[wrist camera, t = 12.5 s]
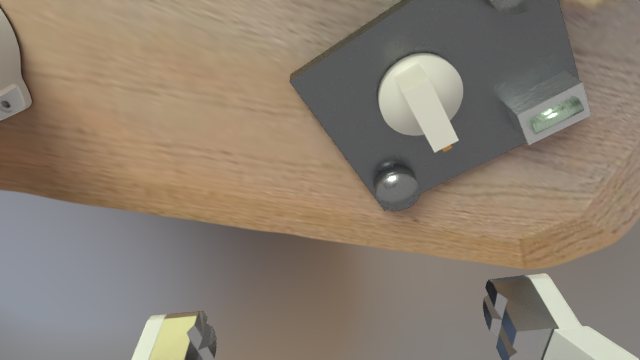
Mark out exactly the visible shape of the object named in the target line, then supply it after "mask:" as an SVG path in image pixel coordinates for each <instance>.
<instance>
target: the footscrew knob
mask: <svg viewBox="0 0 640 360" xmlns="http://www.w3.org/2000/svg"><path fill="white" fill-rule="evenodd" d="M462 98H463V84H462V80H461V77H460V75H459V73H458V72H457V71H456V69H455V68H454V67H453V66H452V65H451V64H450V63H449V62H448V61H447V60H446V59H444V58H443V57H441V56H438V55H435V54H431V53H417V54H413V55H410V56H407V57H405V58H403V59H401V60H399V61H398V62H396V63H395V64H394V65H393V66H392V67H391V68H390V69H389V70H388V71H387V72H386V74H385V75H384V77H383V78H382V80H381V83H380V86H379V89H378V104H379V107H380V110H381V113H382V116H383V118H384V120H385V121H386V123H387V124H388V125H389V126H390V127H391V128H392V129H394V130H395V131H397V132H399V133H402V134H405V135H411V136H418V135H425V136H426V138H427V140H428V141H429V143H430V145H431V147H432V149H433V151H434V153H435V152H437V151H439V150H441V149H442V150H443V152H445V151H447V150H449V149H451V148H450V146H449V145H451V144H453V143H455V142H457V141H459V140H458V138H457V135H456V133H455V131H454V129H453V127H452V125H451V123H450V120H451V119H452V118H453V117H454V115H455V114H456V112H457V111H458V109H459V107H460V104H461V102H462Z"/></svg>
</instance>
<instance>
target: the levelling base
mask: <svg viewBox="0 0 640 360" xmlns="http://www.w3.org/2000/svg"><path fill="white" fill-rule="evenodd" d="M417 53H431V54H435V55H438V56H441V57H443V58H444V59H446V60H447V61H448V62H449V63H450V64H451V65H452V66H453V67H454V68H455V69H456V71H457V72H458V73H459V75H460V77H461V80H462V84H463V98H462V102H461V104H460V107H459V109H458V111H457V112H456V114H455V115H454V117H453V118H452V119H451V120H450V123H451V125H452V127H453V129H454V131H455V133H456V135H457V138H458V140H459V141H457V142H455V143H453V144H451V145H449V146H450V148H451V149H449V150H447V151H445V152H443V150H442V149H441V150H439V151H437V152H435V153H434V151H433V149H432V147H431V145H430V143H429V141H428V140H427V138H426V136H425V135H418V136H411V135H405V134H402V133H399V132H397V131H395V130H394V129H392V128H391V127H390V126H389V125H388V124H387V123H386V121H385V120H384V118H383V116H382V113H381V110H380V107H379V104H378V89H379V86H380V83H381V80H382V78H383V77H384V75H385V74H386V72H387V71H388V70H389V69H390V68H391V67H392V66H393V65H394V64H395V63H396V62H398V61H399V60H401V59H403V58H405V57H407V56H410V55H413V54H417ZM290 83H291V84H292V86H293V87H294V88H295V90H296V91H297V92H298V94H299V95H300V96H301V98H302V99H303V101H304V102H305V103H306V105H307V106H308V107H309V109H310V110H311V111H312V113H313V114H314V116H315V117H316V118H317V120H318V121H319V122H320V124H321V125H322V126H323V128H324V129H325V131H326V132H327V133H328V135H329V136H330V137H331V139H332V140H333V141H334V143H335V144H336V146H337V147H338V148H339V150H340V151H341V152H342V154H343V155H344V156H345V158H346V159H347V160H348V162H349V163H350V165H351V166H352V167H353V169H354V170H355V171H356V173H357V174H358V175H359V177H360V178H361V180H362V181H363V182H364V184H365V185H366V186H367V188H368V189H369V190H370V192H371V193H372V195H373V196H374V197H375V199H376V200H377V201H378V203H379V204H380V206H381V207H382V208H383V210H384V211H385V210H391V211H400V210H404V209H407V208H409V207H411V206H412V205H413V204H415V203H416V202H417V200H418V198H419V196H420V193H422V192H424V191H426V190H428V189H430V188H432V187H434V186H437V185H439V184H441V183H443V182H445V181H447V180H449V179H451V178H453V177H455V176H457V175H459V174H461V173H463V172H465V171H467V170H470V169H472V168H474V167H476V166H478V165H480V164H482V163H484V162H486V161H488V160H490V159H492V158H494V157H496V156H498V155H500V154H503V153H505V152H507V151H509V150H511V149H513V148H515V147H517V146H519V145H521V144H523V143H525V142H526V143H527V144H528V145H530V144H532V143H535V142H537V141H539V140H541V139H543V138H545V137H547V136H549V135H551V134H553V133H555V132H557V131H559V130H562V129H564V128H566V127H568V126H570V125H572V124H574V123H576V122H578V121H580V120H582V119H584V118H587V117H589V116H591V113H590V109H589V105H588V102H587V98H586V94H585V90H584V86H583V82H581V81H580V80H579V77H578V74H577V70H576V66H575V62H574V58H573V54H572V51H571V47H570V43H569V39H568V35H567V31H566V28H565V24H564V20H563V16H562V12H561V8H560V5H559V1H558V0H402V1H400V2H399V3H397V4H396V5H394V6H393V7H391V8H390V9H388V10H387V11H385V12H384V13H382V14H381V15H379V16H378V17H376V18H375V19H373V20H372V21H370V22H369V23H367V24H366V25H364V26H363V27H361V28H360V29H358V30H357V31H355V32H354V33H352V34H351V35H349V36H348V37H346V38H345V39H343V40H342V41H340V42H339V43H337V44H336V45H334V46H333V47H331V48H330V49H328V50H327V51H325V52H324V53H322V54H321V55H319V56H318V57H316V58H315V59H313V60H312V61H310V62H309V63H307V64H306V65H304V66H303V67H301V68H300V69H298V70H297V71H295V72H294V73H292V74H291V76H290Z"/></svg>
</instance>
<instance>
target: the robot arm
mask: <svg viewBox="0 0 640 360" xmlns="http://www.w3.org/2000/svg"><path fill="white" fill-rule="evenodd" d="M6 101H7V102H8V103H9V104H10V105H9V104H8V103H7V102H6ZM31 103H32V100H31V96H30V93H29V91H28V89H27V87H26V85H25V83H24V81H23V79H22V75H21V61H20V51H19V46H18V43H17V40H16V37H15V34H14V32H13V29H12V27H11V25H10V23H9V22H8V20H7V18H6V16H5V15H4V13H3V12H2V10H1V9H0V121H1V120H3V119H6V118H8V117H10V116H12V115H14V114H16V113H18V112H21V111H23V110H25V109H27V108H29V107H30V106H31ZM485 288H486V290H487V292H488V295H487V296H486V297H485V298H484V301H483V311H484V317H485V320H486V324H487V326H488V329H489V331H490V332H491V333H492V334H493V335H495V336H496V337H497V338H498V341H497V346H496V348H497V350H498V352H499V355H500V357H501V359H502V360H640V359H638V358H637V357H635V356H634V355H632V354H630V353H629V352H627V351H626V350H624V349H623V348H621V347H620V346H618V345H617V344H615V343H613V342H612V341H610V340H609V339H607V338H606V337H604V336H602V335H601V334H600V333H598V332H596V331H595V330H593V329H592V328H590V327H589V326H582V325H581V324H580V323H579V321H578V319H577V318H576V316H575V315H574V313H573V312H572V310H571V309H570V307H569V306H568V304H567V303H566V301H565V300H564V298H563V297H562V295H561V293H560V292H559V290H558V289H557V287H556V286H555V284H554V283H553V281H552V280H551V278H550V277H549V276H548V275H547V274H535V275H527V276H524V275H522V276H514V277H506V278H498V279H490V280H488V281H487V283H486V287H485ZM206 322H207V316H206V314H205V313H204V311H197V312H186V313H175V314H163V315H153V316H151V317H150V318H149V319H148V321H147V322H146V325H145V327H144V330H143V332H142V334H141V337H140V339H139V342H138V345H137V347H136V349H135V352H134V354H133V357H132V359H131V360H214V358H215V353H216V334H215V331H214V329H213V327H212V326H210V325H209V324H207V323H206Z"/></svg>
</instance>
